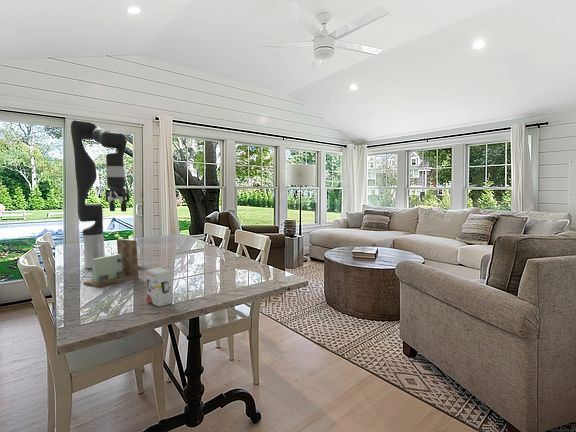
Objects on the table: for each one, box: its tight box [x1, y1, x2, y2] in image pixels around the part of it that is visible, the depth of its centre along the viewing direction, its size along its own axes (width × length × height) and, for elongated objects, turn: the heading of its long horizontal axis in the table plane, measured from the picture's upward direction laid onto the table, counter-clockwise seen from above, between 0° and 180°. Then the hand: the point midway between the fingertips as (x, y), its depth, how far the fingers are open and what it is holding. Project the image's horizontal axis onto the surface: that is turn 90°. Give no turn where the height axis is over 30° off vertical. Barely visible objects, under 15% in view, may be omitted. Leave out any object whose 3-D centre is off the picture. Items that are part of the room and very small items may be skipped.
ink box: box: [146, 267, 172, 307], centre depth 120 cm, size 9×5×12 cm, turn 50°
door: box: [91, 253, 122, 283], centre depth 149 cm, size 3×12×10 cm, turn 151°
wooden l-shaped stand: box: [83, 238, 139, 289], centre depth 150 cm, size 12×18×17 cm, turn 150°
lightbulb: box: [137, 245, 141, 259], centre depth 178 cm, size 6×6×11 cm
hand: (118, 211), depth 159 cm, fingers open, 8 cm apart
